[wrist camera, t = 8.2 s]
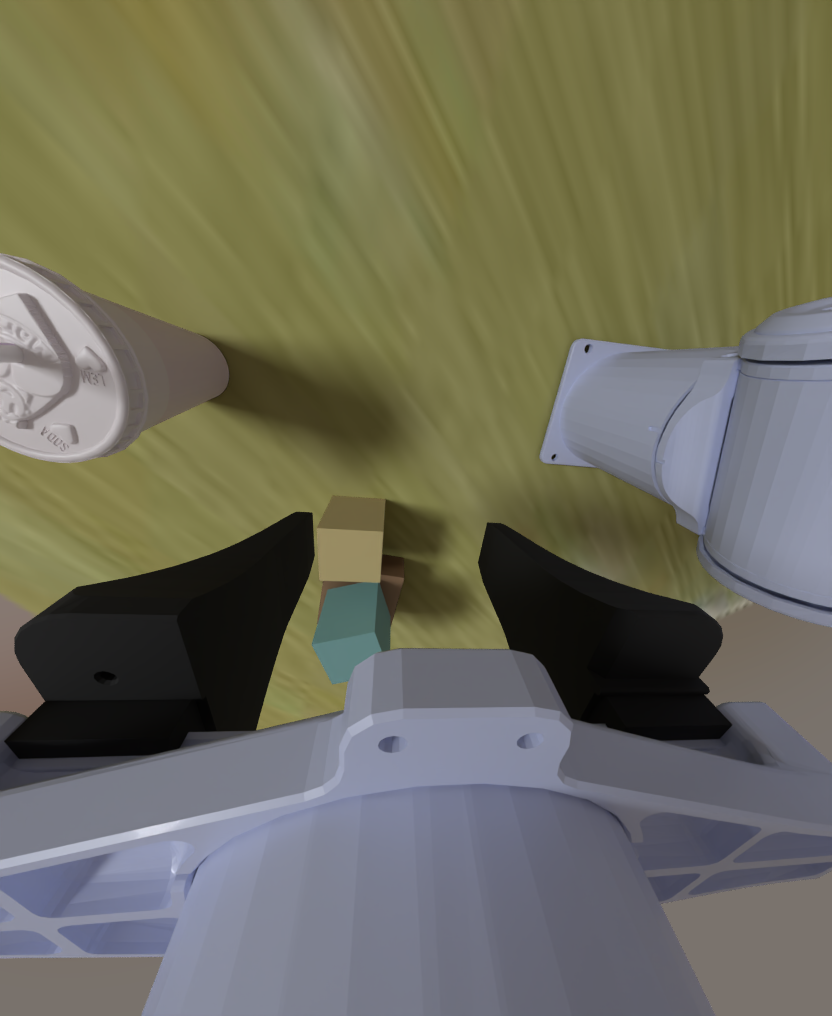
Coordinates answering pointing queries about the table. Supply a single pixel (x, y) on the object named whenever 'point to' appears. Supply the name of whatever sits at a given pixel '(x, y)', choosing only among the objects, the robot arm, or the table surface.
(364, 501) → the mustard block
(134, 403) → the smoothie
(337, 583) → the walnut slab
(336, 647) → the teal block
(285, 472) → the table surface
